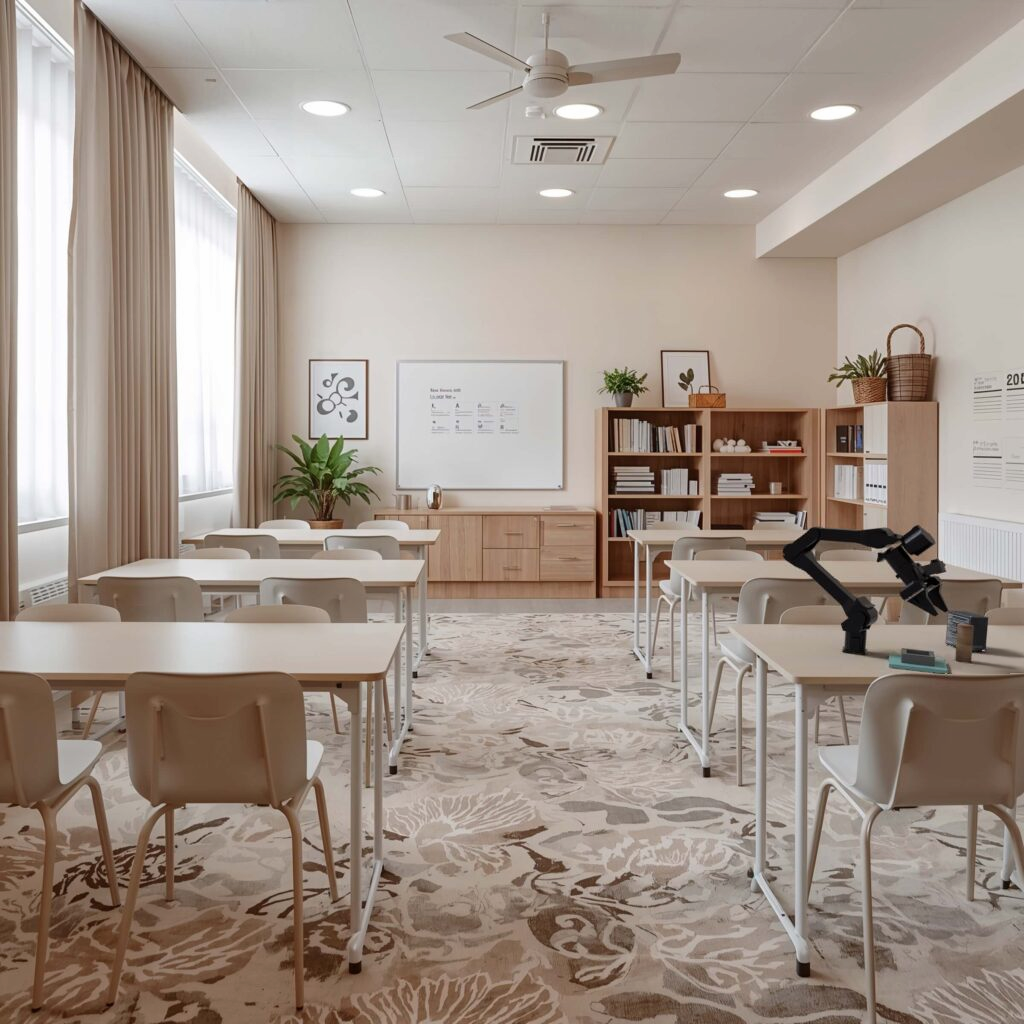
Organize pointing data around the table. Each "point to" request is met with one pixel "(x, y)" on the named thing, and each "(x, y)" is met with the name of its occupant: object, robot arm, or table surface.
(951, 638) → the small box
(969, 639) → the peg
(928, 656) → the docking socket
